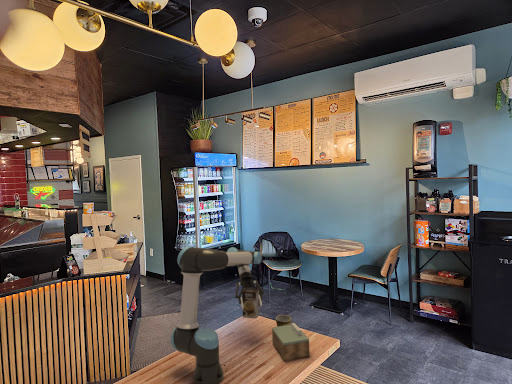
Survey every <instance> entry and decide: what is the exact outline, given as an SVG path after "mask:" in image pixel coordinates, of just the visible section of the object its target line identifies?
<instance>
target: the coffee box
mask: <svg viewBox="0 0 512 384" xmlns="http://www.w3.org/2000/svg"><path fill="white" fill-rule="evenodd" d="M259 292H260V291H259V289H258V288H257V289H251V288H244V290H243V291H242V295H241V297H242V301H243V306H244V308H243V309H242V318H248V319H258V318H259V316H260V304H259Z"/></svg>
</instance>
